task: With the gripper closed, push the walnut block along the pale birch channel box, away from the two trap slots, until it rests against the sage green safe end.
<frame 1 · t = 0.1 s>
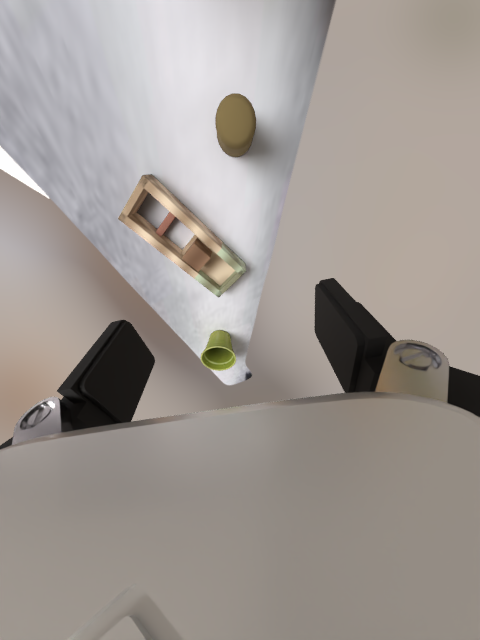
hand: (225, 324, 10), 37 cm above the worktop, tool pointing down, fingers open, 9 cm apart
cork: (235, 133, 33), on the worktop
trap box: (191, 240, 43), on the worktop
plant pot: (220, 337, 61), on the worktop
block: (198, 251, 43), point 2 cm above the worktop, touching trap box
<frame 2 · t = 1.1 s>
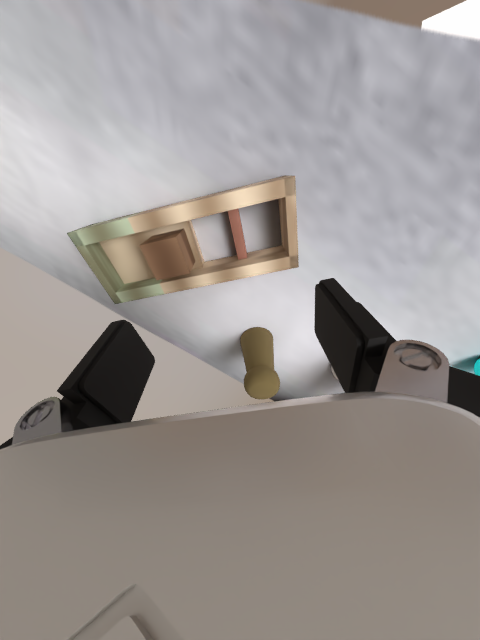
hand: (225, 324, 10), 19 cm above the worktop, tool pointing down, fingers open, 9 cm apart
cork: (256, 339, 37), on the worktop
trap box: (195, 240, 26), on the worktop
donuts: (479, 366, 42), on the worktop
block: (174, 248, 25), point 2 cm above the worktop, touching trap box
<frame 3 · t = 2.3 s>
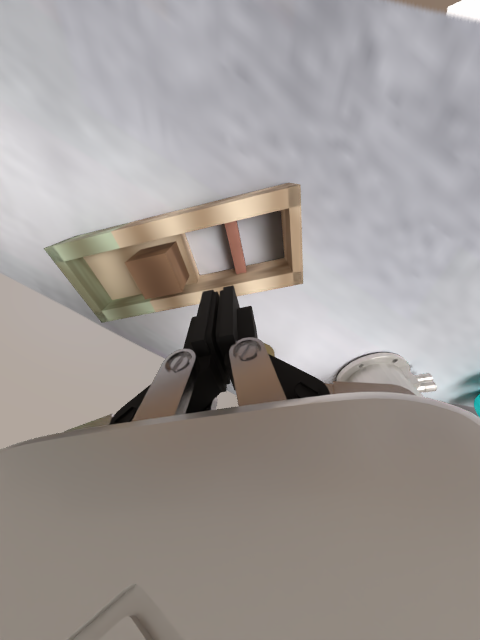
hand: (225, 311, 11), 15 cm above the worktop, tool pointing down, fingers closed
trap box: (189, 252, 24), on the worktop
block: (166, 263, 22), point 2 cm above the worktop, touching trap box
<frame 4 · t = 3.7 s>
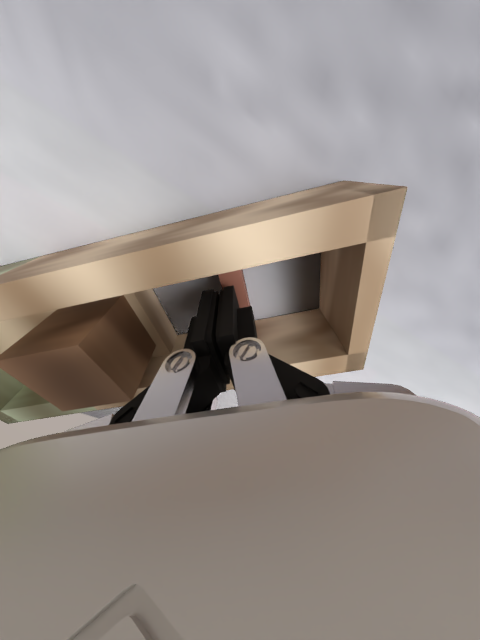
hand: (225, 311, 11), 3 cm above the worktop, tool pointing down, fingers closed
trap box: (157, 303, 14), on the worktop
block: (111, 328, 12), point 2 cm above the worktop, touching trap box
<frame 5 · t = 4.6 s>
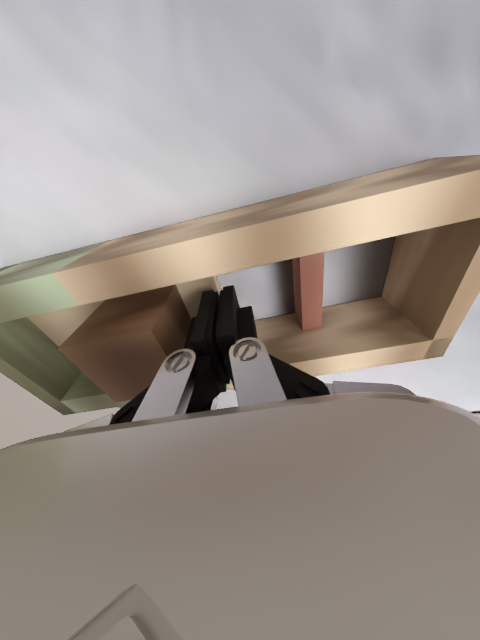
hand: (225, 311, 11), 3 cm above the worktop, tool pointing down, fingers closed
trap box: (217, 291, 13), on the worktop
block: (157, 319, 12), point 2 cm above the worktop, touching gripper
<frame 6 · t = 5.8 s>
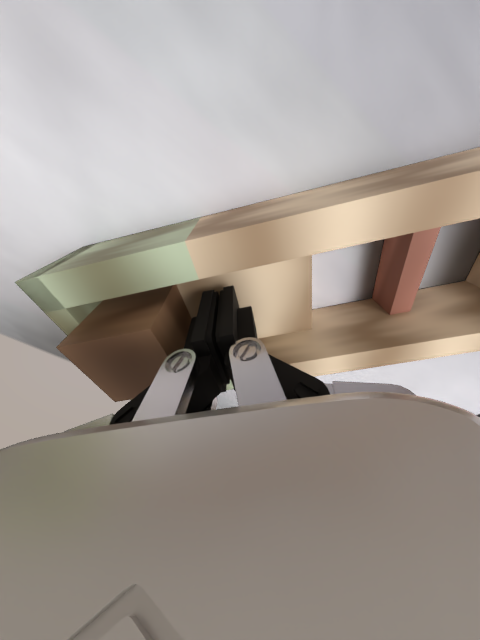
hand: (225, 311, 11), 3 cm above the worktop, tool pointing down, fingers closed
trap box: (298, 274, 13), on the worktop
block: (157, 317, 12), point 2 cm above the worktop, touching gripper, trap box
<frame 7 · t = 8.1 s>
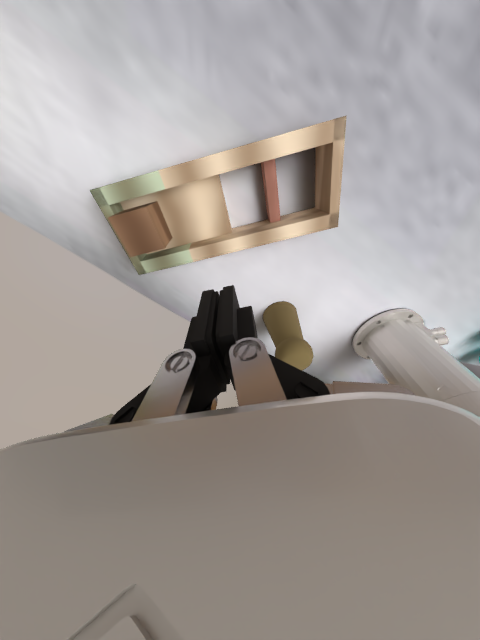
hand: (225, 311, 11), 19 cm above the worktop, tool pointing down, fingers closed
cork: (279, 315, 36), on the worktop
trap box: (223, 203, 24), on the worktop
block: (149, 224, 23), point 2 cm above the worktop, touching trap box
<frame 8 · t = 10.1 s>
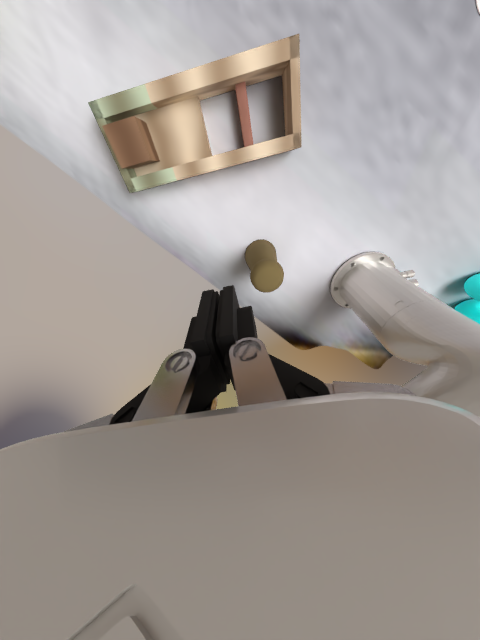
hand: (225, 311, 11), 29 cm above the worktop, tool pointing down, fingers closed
cork: (260, 255, 39), on the worktop
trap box: (205, 131, 28), on the worktop
donuts: (469, 289, 45), on the worktop
block: (139, 146, 27), point 2 cm above the worktop, touching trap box
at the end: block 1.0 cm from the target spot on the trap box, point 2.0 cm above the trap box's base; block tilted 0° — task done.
